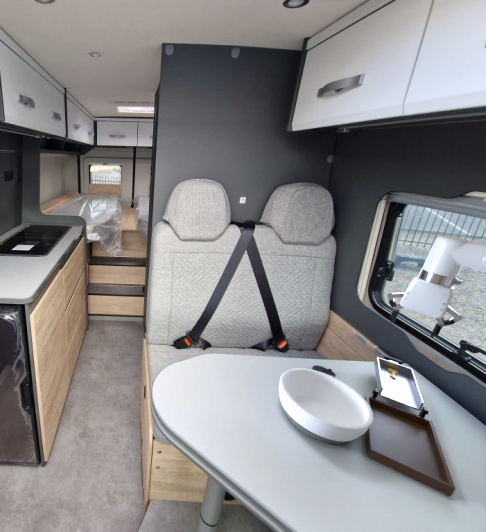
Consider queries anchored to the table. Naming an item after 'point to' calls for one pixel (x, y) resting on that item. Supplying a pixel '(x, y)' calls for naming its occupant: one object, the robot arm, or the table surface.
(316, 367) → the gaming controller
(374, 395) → the stand
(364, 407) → the bowl
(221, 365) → the table surface
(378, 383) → the shallow grey bin
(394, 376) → the key
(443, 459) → the tray
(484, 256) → the robot arm
